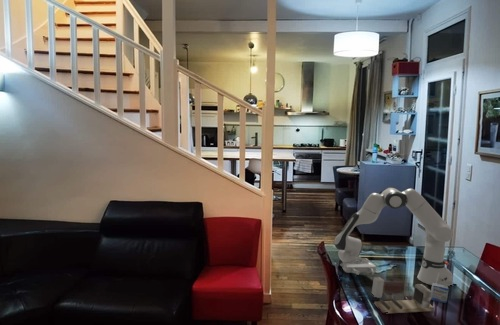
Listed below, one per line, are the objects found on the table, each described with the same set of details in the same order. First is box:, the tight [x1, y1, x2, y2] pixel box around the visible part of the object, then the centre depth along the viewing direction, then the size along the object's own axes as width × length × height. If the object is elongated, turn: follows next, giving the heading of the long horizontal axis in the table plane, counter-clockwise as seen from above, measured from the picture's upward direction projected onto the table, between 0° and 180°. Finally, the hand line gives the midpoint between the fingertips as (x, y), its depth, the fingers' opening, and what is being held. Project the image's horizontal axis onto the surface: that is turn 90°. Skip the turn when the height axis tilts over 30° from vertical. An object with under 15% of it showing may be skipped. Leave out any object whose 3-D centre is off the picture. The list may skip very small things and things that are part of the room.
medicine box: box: [430, 283, 450, 304], centre depth 203 cm, size 8×4×9 cm, turn 69°
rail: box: [373, 283, 435, 314], centre depth 191 cm, size 30×8×11 cm, turn 103°
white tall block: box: [371, 276, 385, 299], centre depth 202 cm, size 4×4×10 cm
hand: (365, 273), depth 214 cm, fingers open, 8 cm apart
